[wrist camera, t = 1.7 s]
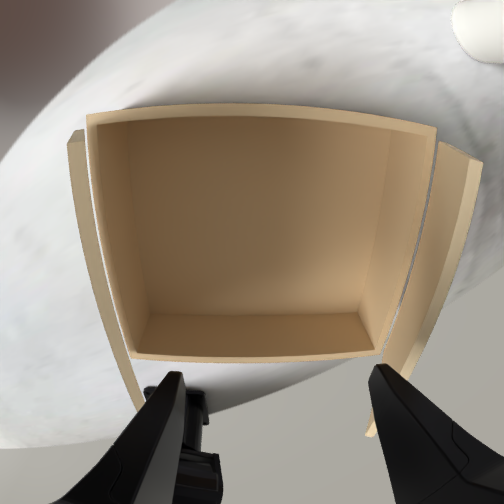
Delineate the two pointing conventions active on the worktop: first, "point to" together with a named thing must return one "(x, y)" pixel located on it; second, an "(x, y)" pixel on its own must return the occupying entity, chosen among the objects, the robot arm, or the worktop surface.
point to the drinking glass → (480, 29)
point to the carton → (257, 227)
